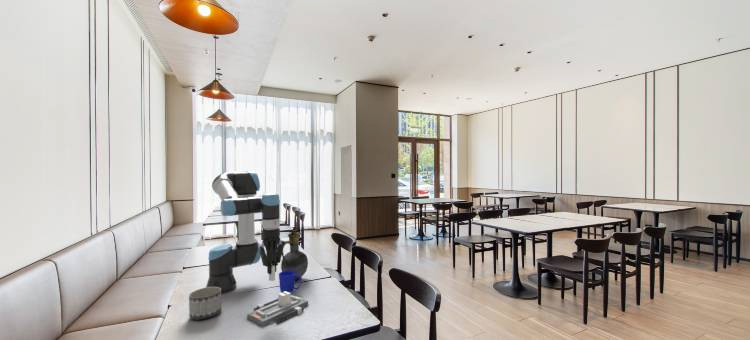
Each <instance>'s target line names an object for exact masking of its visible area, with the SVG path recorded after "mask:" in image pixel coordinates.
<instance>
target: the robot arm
mask: <svg viewBox="0 0 750 340" xmlns="http://www.w3.org/2000/svg"><path fill="white" fill-rule="evenodd" d="M211 187H212V190H213V191H214V193H215V194H216V195H218V196H219V198H220V200H221V201H220V214H221V215H222V216H224V217H233V216H238V217H237V218H238V219H237V220H238V222H237V223H238V227H237V228H238V230H237V231H238V240H237V241H236V242H235V246H233V245H232V243H231V244H222V245H218V246H216V247H214V248H211V249H210V250H209V252H208V273H209V274H208V280H207V283H206V286H205V288H206V287H219V288H221V294H225V293H226V294H227V293H228V292H231V291H233V290H236V288H237V280H236V278H235V275H234V271H233V269H234V268H239V267H240V268H241V267H246V266H252V265H253V264H257V263H259V261H260V260H261V263H262V265H263V266H264V267H266V270H267V275H268V281H271V282H275V281H276V272H277V267H278V266H279V263H281V262H282V249H283V250H284V248H283V245H284V243H285V241H286V240H282V239H281V238H280V237H281V228H280V226H281V224H280V223H281V221H280V220H281V217H280V213H281V212H280V211H281V210H280V209H281V207H280V206H281V205H280V203H281V200H280V195H279V194H278V193H274V192H273V193H264V194H262V195H259V196H256V195H257V193H258V192H259V191H260V189H261V183H260V179H259V175H258V174H257V173H256V172H255V171H247V170H246V171H226V172H222V173H220V174H219V175H217V176H216V177H214V179H213V181H212V185H211ZM259 213H261V218H262V219H261V227H262V231H261V232H262V233H261V234H262V242H261V243H260V242H258V240H257V238H256V236H255V235H256V234H255V231H256V230H255V214H259Z"/></svg>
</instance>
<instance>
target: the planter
mask: <svg viewBox="0 0 750 340" xmlns="http://www.w3.org/2000/svg"><path fill="white" fill-rule="evenodd" d="M188 307H189V308H188V311H189V314H188V315H189V318H190V319H191V320H194V321H195V320H197V321H199V320H205V319H210V318H212V317H215V316H217V315H219V314H220V312H221V311H222V309H223V308H222V307H223V306H222V293H221V288H219V287H206V286H205V287H201V288H198V289H196V290H193V291H191V292H190V293H189V294H188Z"/></svg>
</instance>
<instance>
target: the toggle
mask: <svg viewBox="0 0 750 340" xmlns="http://www.w3.org/2000/svg"><path fill="white" fill-rule="evenodd" d="M291 293H292V292H291ZM291 293H289V292H287V291H284V292H282V293H281V292H280V293H278V294H277V295H278V297H277V299H278V305H280V306H286V305H288V304H290V303H291V295H292V294H291Z"/></svg>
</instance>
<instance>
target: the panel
mask: <svg viewBox="0 0 750 340" xmlns="http://www.w3.org/2000/svg"><path fill="white" fill-rule="evenodd" d="M308 305H309V300H307V299H305V298H303V297H300V296H296V295H293V294H291V303H290V304H288V305H286V306H280V305H278V301H277V302H274V303H272V304H269V305H267V306H265V307H262V308H260V309H258V310H255V311H254V310H253V311H251V312H248V313H247V314H246V315H247V316H246V319H247V320H250V321H251V322H253V323H256V324H257V325H259V326H261V327H264V326H267V325H269V324H271V323H273V322H276V319H277V318H279V317H281V316H283V315H285V314H287V313H290V312H292V311H294V308H295V307H297V306H298V307H303V308H304V307H307V306H308Z"/></svg>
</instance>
